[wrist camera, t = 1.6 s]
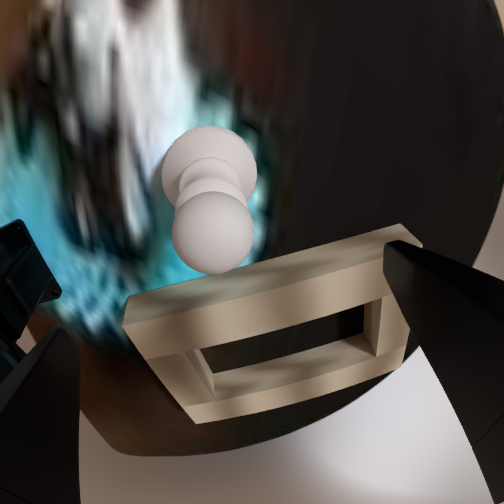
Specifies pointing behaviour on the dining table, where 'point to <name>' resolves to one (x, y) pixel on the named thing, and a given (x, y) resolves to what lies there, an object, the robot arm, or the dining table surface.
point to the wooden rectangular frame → (272, 327)
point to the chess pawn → (210, 198)
